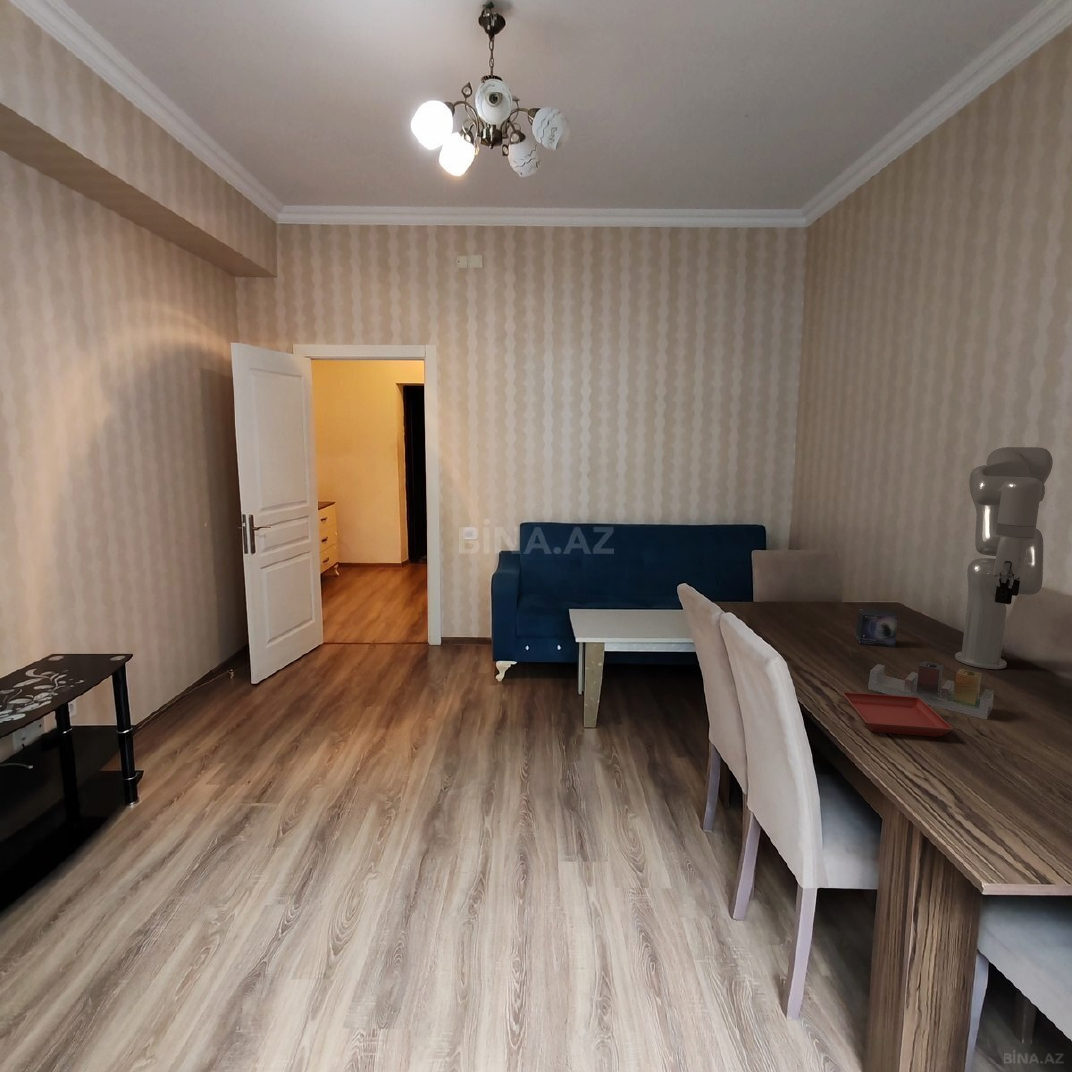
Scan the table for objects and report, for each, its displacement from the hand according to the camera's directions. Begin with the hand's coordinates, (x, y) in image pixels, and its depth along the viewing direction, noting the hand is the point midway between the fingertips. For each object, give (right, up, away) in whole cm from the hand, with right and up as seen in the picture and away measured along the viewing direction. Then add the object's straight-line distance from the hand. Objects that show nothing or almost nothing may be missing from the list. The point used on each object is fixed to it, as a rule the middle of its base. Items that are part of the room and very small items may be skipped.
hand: (1006, 598), depth 153 cm
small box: (-6, -20, +49) cm, 53 cm away
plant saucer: (-32, -29, -7) cm, 44 cm away
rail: (-16, -26, +6) cm, 31 cm away
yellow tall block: (-10, -25, 0) cm, 27 cm away
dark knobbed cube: (-16, -24, +5) cm, 30 cm away
